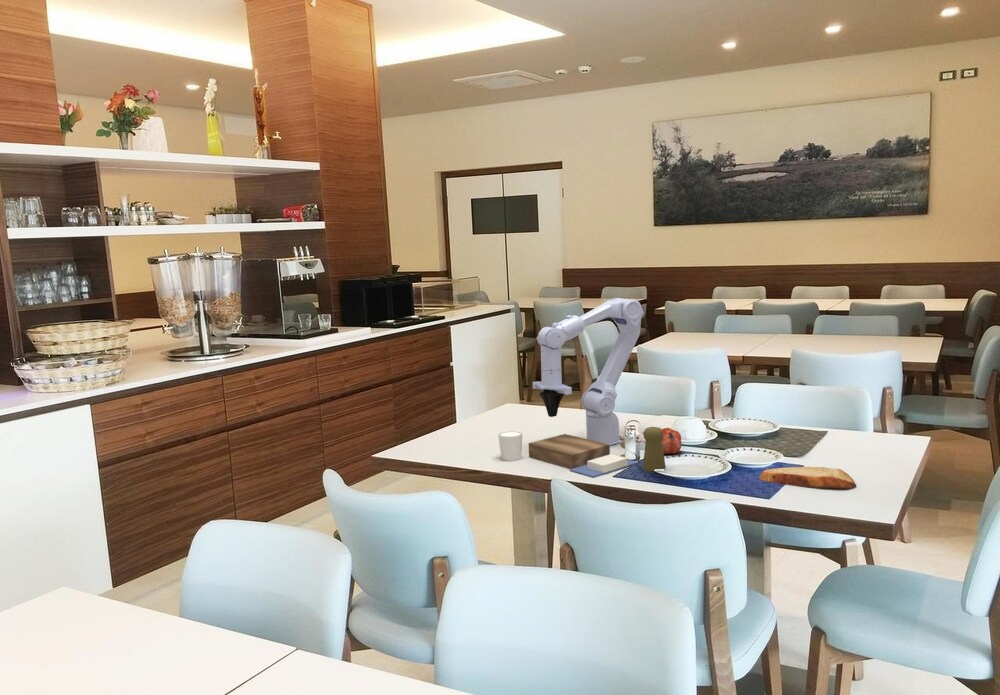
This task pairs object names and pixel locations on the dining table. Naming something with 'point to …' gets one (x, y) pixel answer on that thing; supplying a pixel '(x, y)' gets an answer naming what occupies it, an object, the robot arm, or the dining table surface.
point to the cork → (653, 449)
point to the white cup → (510, 445)
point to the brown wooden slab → (567, 450)
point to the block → (607, 463)
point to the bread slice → (809, 477)
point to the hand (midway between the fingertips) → (552, 416)
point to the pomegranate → (671, 441)
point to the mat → (593, 473)
